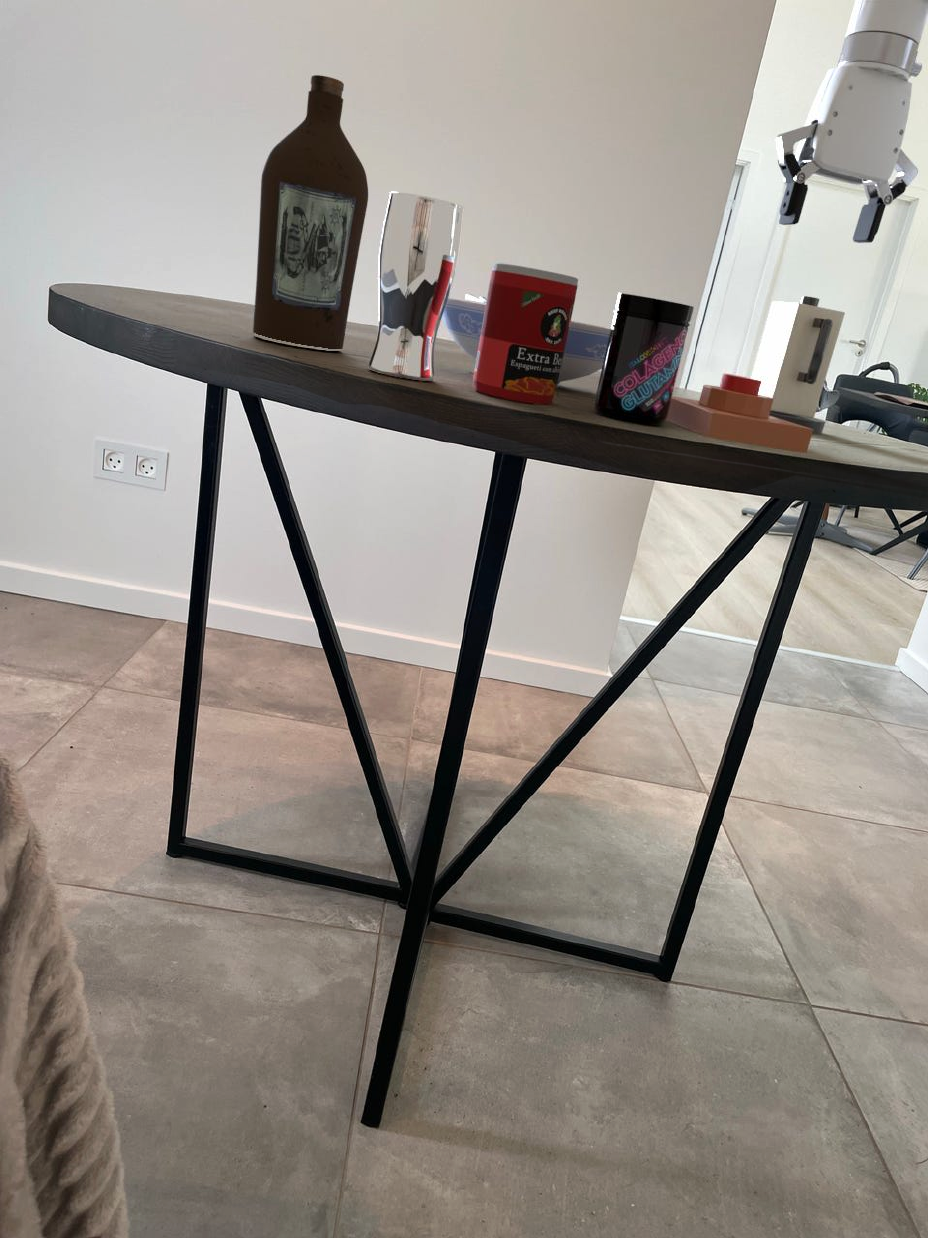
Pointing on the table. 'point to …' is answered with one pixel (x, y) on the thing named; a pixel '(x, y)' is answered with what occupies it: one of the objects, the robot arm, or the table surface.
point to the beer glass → (414, 282)
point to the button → (740, 384)
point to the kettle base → (801, 421)
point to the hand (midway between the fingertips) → (825, 232)
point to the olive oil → (310, 227)
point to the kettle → (796, 354)
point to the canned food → (524, 333)
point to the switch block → (738, 419)
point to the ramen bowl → (580, 347)
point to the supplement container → (642, 359)
